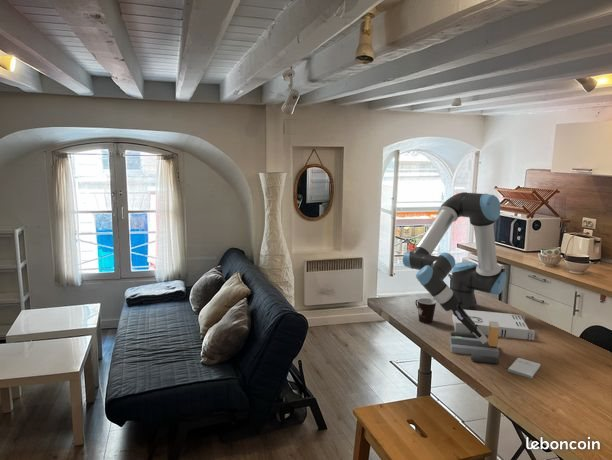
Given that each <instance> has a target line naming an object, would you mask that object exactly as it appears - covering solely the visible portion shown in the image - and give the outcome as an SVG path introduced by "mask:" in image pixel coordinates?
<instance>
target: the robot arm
mask: <svg viewBox="0 0 612 460" xmlns="http://www.w3.org/2000/svg"><path fill="white" fill-rule="evenodd" d="M501 208H502V207H501V202H500V200H499V198H498V197H497V196H496V195H494V194H490V193H479V192H478V193H477V192H467V191H465V192H464V191H463V192H458V193H456V194H454V195H452V196H450V197H449V198H448V199H446V201H444V202H443V203H442V204H441V205H440V207H439V208H438V211H437V212H438V214H437V215H436V217H435V218H434V219H433V221H432V223H431V224H430V225H429V227H428V228H427V230H426V231H425V233H424V234H423V235H422V238H421V239H420V240H419V241H418V243H417V245H416V246H415V247H414V249H412V250H407V251H405V252H404V253H403V255H402V264H403V266H404V267H407V268H409V269H412V270H418V272H416V274H415V278H416V279H417V281H418V282H419V283H420V285H422V286H423V288H424V289H425V290H426V291H427V292H428V294H430V295H431V296H432V298H433V300H435V301H436V303H438V304H439V305H440V307H441V308H442V309H443V310H444V311H445V312H450V311H451V312H453V314H454V315H455V316H456V317H457V319H458V320H459V321H461V322H462V323H463V324H464V325H465V326H466V327H467V328H468V329H469V330H470V333H473V334H474V335H475V336H476V337H477V338H478V339H479V340H480V341H481V342H482V343H483V344H484V343H486V342H487V341H488V338H487V337H486V336H485V335H484V334H483V333H482V332H481V331H480V330H479V328H478V327H477V326H478V325H477V324H476V325H475V323H474V322H473V321H472V320H471V318H470V317H469V316H468V315H467V314H466V312H465V311H464V310H476V309H477V308H478V307H477V306H478V303H477V298H476V294H475V291H479V292H482V293H487V294H491V295H496V296H497V295H500V294H501V293H502V292H503V290H504V289H505V286H506V284H507V278H508V277H507V273H506V272H505V271H502V268H501V265H499V264H498V261H497V260H498V259H497V258H498V257H497V249H496V247H497V246H496V238H495V229H494V228H495V227H494V224H495V223H496V222H497V220H498V219H499V217H500V216H501ZM461 217H462V218H468V219H469V223H470V225H472V226H473V230H474V238H475V239H474V240H475V247H476V255H477V263H478V265H477V263H475V262H472V261H465V262H463V261H462V262H457V263H456V260H455V258H454V256H453V255H452V254H450V253H448V252H441V253H440V254H439V255H438V256H437V255H432V254H433V253H434V251H435V249H436V247H437V246H438V245H439V243H440V242H441V240H442V238H443V237H444V236H445V235H446V233H447V231H448V230H449V228H450V227H451V225H452V224H453V223H455V222H456V221H457V220H458V218H461ZM449 273H451V286H449V285H448V284H447V283H446V282H445V281H444V280H445V278H447V276H448V275H449Z"/></svg>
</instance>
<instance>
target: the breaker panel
mask: <svg viewBox="0 0 612 460" xmlns="http://www.w3.org/2000/svg"><path fill="white" fill-rule="evenodd" d="M448 342H449V347H450V351H451V353H453V354H454V353H455V354H463V355H471V356H472V355H480V356H489V357H497V358H498V359H500V350H499V348H498V346H497V347H494V346H489V344H488V341H487V342H486V343H484V344H483V343H482V342H481V341H480V340H479V339H475V338H466V337H458V336H451V335H449V341H448Z"/></svg>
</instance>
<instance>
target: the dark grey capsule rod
mask: <svg viewBox="0 0 612 460" xmlns="http://www.w3.org/2000/svg"><path fill="white" fill-rule="evenodd" d="M470 360H471V361H472V362H475V363H476V362H477V363H478V362H479V363H487V364H494V365H495V364H499V363H500V358H497V357H489V356H480V355H471V356H470Z"/></svg>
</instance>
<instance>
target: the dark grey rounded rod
mask: <svg viewBox="0 0 612 460" xmlns="http://www.w3.org/2000/svg"><path fill="white" fill-rule="evenodd" d="M450 336H458V337H466V338H475V339H478V338H477V337H476V336H475V335H474V334H473V333H464V332H455V330H454V331H451V332H450ZM485 336H486V337H487V338H488V335H485Z"/></svg>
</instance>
